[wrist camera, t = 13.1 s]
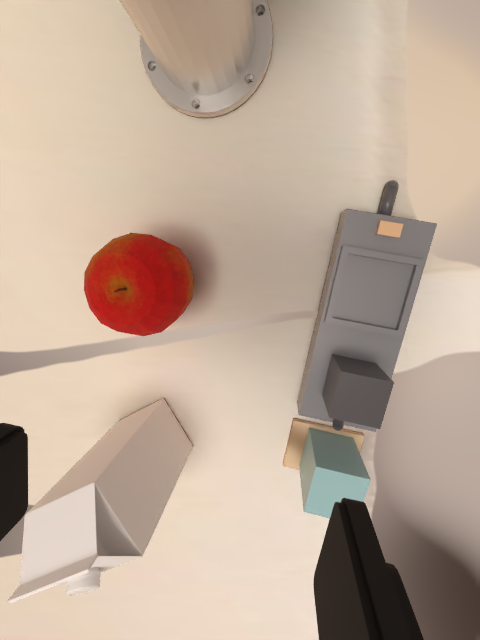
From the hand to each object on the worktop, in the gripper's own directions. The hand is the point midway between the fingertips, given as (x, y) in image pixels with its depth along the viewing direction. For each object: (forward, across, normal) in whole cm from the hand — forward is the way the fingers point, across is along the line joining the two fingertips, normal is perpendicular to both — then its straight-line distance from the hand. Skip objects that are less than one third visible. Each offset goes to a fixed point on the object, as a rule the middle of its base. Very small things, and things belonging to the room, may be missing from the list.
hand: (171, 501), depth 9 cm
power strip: (+27, -11, -3) cm, 29 cm away
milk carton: (+26, +9, +17) cm, 33 cm away
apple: (+27, +10, -2) cm, 29 cm away
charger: (+25, -11, +14) cm, 31 cm away
